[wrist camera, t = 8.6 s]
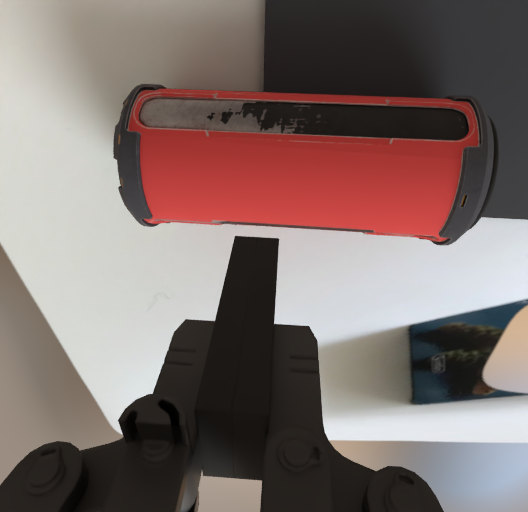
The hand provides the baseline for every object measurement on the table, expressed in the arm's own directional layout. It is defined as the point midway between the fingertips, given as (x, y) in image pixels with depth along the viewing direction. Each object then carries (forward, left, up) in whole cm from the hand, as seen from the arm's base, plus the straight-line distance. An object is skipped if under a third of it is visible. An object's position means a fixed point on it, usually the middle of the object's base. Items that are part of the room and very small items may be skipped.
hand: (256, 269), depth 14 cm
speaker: (-5, -5, -10) cm, 12 cm away
